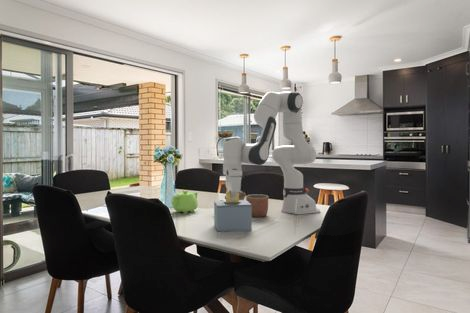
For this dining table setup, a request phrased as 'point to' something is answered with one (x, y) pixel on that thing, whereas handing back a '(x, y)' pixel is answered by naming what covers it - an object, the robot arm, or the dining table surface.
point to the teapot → (185, 202)
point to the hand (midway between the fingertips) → (232, 199)
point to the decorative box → (240, 195)
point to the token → (228, 198)
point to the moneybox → (232, 216)
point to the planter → (258, 204)
